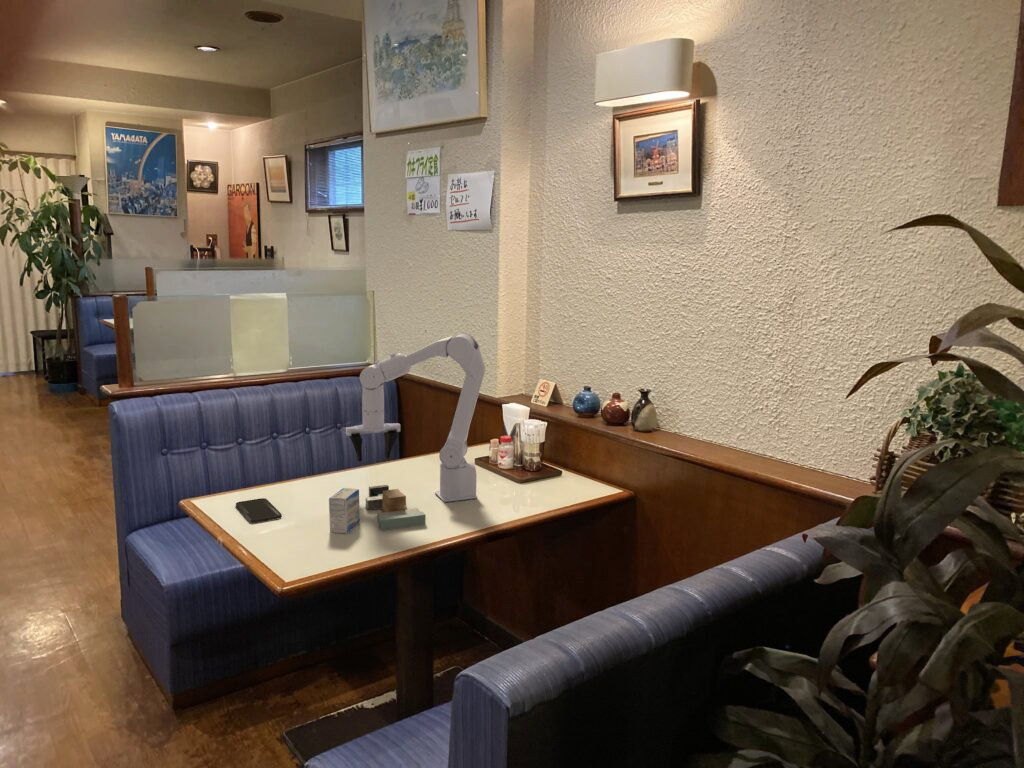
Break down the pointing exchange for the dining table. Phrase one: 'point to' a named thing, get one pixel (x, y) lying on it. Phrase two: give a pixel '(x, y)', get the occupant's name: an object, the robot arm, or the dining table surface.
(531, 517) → the dining table surface
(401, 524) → the teal flat block
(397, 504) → the walnut block
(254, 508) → the phone
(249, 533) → the dining table surface
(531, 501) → the dining table surface
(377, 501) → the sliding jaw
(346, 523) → the medicine box
